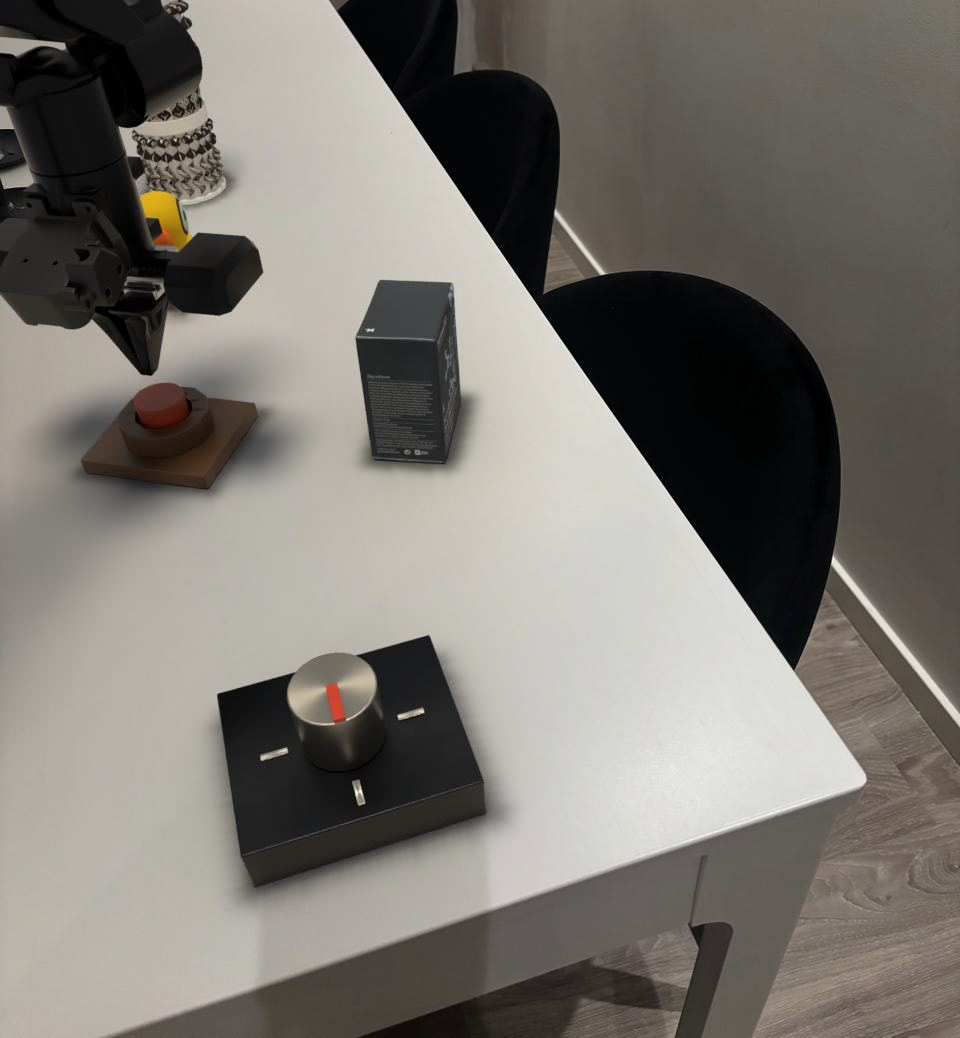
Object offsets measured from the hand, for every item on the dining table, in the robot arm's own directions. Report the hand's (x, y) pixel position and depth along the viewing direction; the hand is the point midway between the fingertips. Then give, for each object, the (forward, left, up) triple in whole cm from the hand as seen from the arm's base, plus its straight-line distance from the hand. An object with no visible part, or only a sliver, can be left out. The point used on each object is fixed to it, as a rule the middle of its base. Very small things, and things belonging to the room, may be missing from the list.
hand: (150, 372), depth 69 cm
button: (0, 0, -4) cm, 4 cm away
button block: (0, 0, -6) cm, 7 cm away
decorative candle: (-20, +42, -7) cm, 47 cm away
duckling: (-10, +21, -7) cm, 24 cm away
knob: (+23, -24, -3) cm, 33 cm away
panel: (+23, -24, -6) cm, 34 cm away
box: (+18, +5, -7) cm, 20 cm away
